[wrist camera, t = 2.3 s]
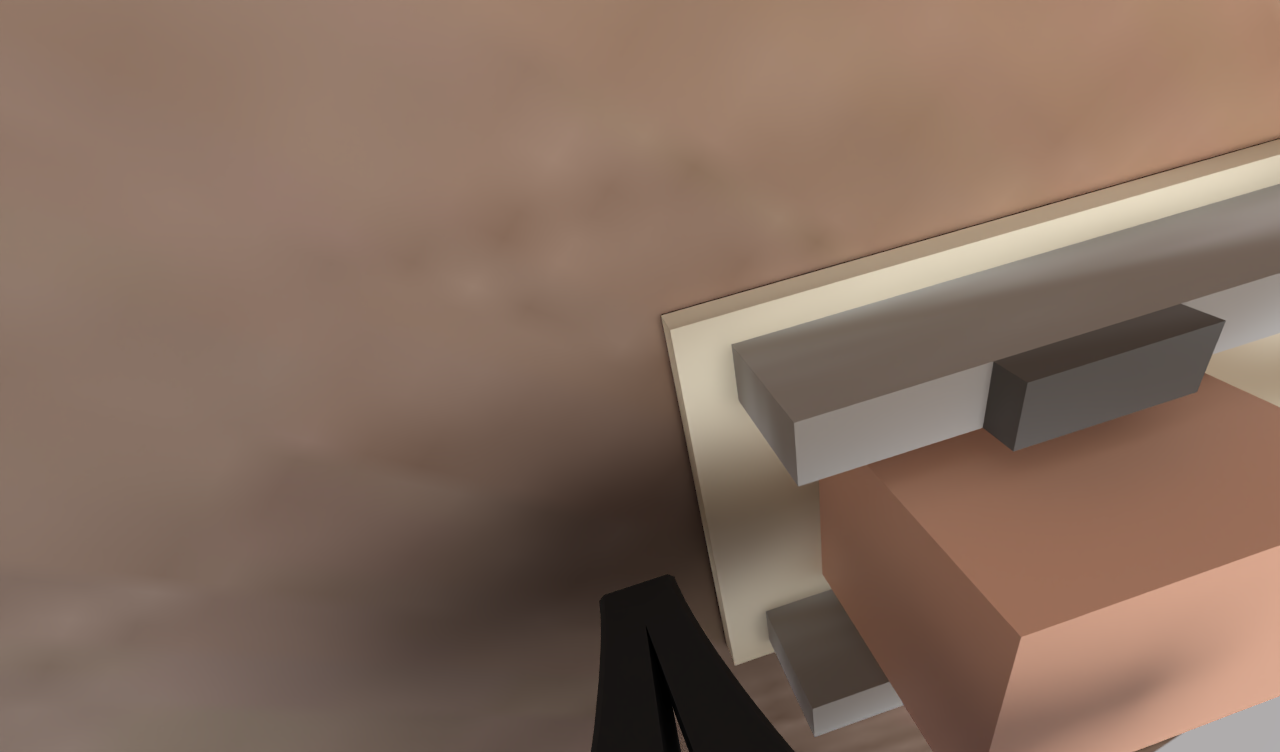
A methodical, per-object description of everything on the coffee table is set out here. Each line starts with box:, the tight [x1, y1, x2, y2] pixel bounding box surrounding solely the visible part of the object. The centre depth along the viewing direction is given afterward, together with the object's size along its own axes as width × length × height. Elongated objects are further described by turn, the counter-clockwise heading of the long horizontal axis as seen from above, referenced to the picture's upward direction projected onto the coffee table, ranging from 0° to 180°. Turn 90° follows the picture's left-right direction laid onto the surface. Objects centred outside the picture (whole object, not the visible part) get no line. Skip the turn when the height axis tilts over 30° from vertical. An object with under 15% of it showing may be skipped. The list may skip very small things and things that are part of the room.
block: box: [819, 373, 1280, 752], centre depth 10 cm, size 5×6×5 cm
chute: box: [661, 139, 1280, 737], centre depth 12 cm, size 10×21×4 cm, turn 102°
